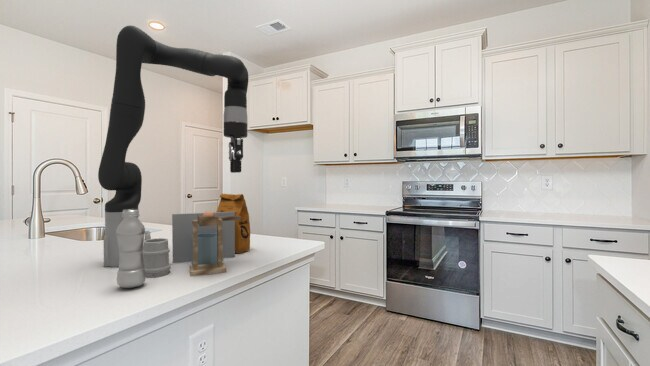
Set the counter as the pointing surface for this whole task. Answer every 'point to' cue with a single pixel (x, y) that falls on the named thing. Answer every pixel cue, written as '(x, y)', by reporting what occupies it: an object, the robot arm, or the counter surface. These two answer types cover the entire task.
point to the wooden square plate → (214, 220)
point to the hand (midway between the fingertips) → (235, 172)
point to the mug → (156, 256)
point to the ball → (208, 214)
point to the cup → (206, 248)
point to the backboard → (184, 231)
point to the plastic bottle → (131, 250)
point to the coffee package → (241, 226)
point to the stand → (220, 265)
